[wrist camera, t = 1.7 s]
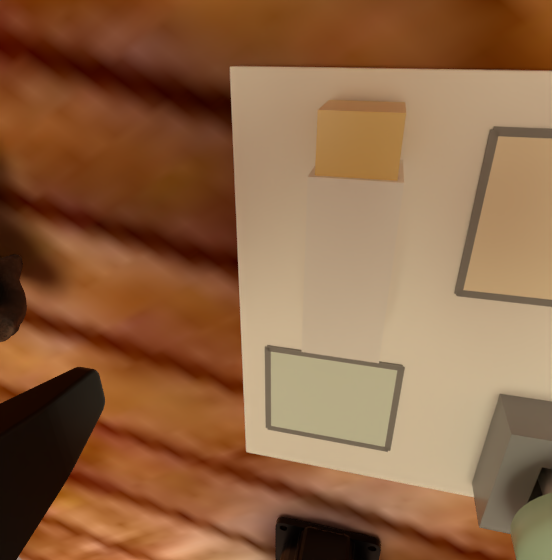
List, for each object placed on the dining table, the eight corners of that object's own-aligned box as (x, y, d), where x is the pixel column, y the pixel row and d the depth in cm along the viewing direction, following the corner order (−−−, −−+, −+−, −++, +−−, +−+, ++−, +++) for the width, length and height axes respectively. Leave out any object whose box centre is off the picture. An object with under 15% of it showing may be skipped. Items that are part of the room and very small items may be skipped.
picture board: (592, 510, 23) (598, 523, 22) (249, 443, 26) (245, 453, 26) (822, 74, 13) (842, 76, 12) (234, 65, 17) (228, 66, 16)
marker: (381, 321, 20) (378, 363, 17) (313, 312, 20) (301, 351, 18) (411, 101, 15) (413, 114, 13) (324, 98, 16) (309, 110, 13)
